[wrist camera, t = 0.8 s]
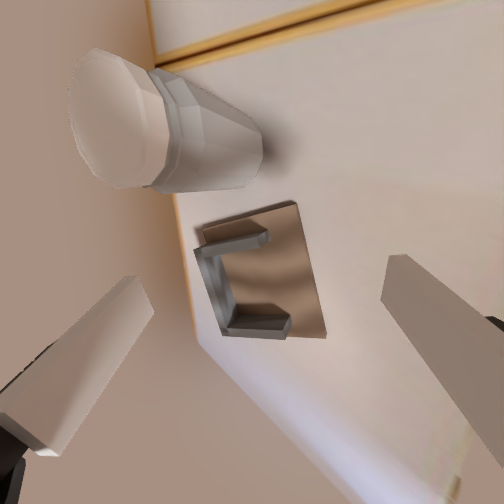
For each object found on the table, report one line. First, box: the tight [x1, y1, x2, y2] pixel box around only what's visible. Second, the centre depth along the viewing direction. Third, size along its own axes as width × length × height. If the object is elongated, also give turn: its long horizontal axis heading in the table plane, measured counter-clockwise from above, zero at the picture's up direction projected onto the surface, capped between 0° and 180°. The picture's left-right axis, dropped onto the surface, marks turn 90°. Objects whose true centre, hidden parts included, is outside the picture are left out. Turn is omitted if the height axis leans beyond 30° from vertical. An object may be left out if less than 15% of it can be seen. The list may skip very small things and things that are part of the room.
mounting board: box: [193, 204, 327, 340], centre depth 31 cm, size 20×16×5 cm
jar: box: [68, 47, 264, 194], centre depth 22 cm, size 10×10×18 cm
